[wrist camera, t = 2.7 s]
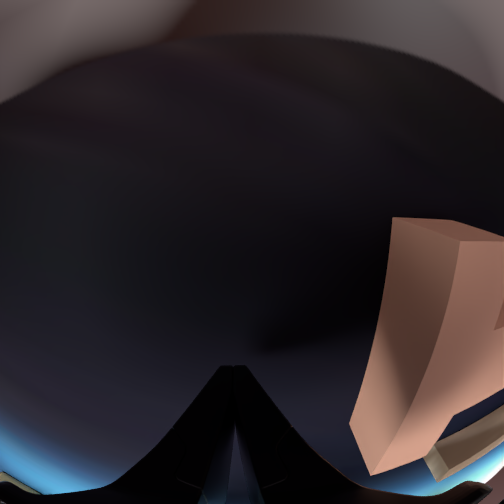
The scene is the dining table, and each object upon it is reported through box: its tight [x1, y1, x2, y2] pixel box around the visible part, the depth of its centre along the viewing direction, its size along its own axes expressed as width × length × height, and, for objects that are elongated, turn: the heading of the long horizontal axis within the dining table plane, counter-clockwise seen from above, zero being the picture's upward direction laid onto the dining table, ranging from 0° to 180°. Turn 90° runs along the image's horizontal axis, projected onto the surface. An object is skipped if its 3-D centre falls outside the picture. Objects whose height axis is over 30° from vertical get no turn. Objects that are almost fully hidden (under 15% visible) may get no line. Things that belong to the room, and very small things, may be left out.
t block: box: [349, 217, 504, 476], centre depth 8 cm, size 10×10×4 cm
